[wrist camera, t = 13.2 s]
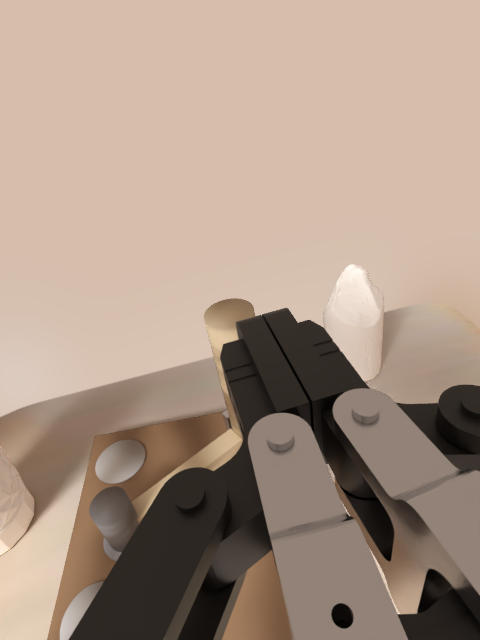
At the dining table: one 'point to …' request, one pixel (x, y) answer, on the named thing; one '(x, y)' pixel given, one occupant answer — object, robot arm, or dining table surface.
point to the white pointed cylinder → (357, 320)
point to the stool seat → (135, 478)
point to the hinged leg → (124, 516)
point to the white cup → (13, 504)
